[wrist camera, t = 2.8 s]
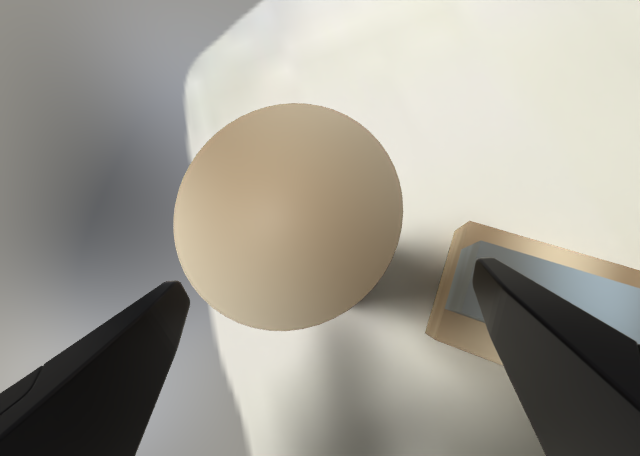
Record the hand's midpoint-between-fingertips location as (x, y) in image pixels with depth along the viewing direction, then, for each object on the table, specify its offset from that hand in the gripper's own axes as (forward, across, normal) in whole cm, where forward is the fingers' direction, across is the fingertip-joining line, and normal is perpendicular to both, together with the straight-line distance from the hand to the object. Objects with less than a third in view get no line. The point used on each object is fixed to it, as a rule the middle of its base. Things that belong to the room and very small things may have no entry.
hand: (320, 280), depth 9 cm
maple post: (+7, 0, +6) cm, 9 cm away
